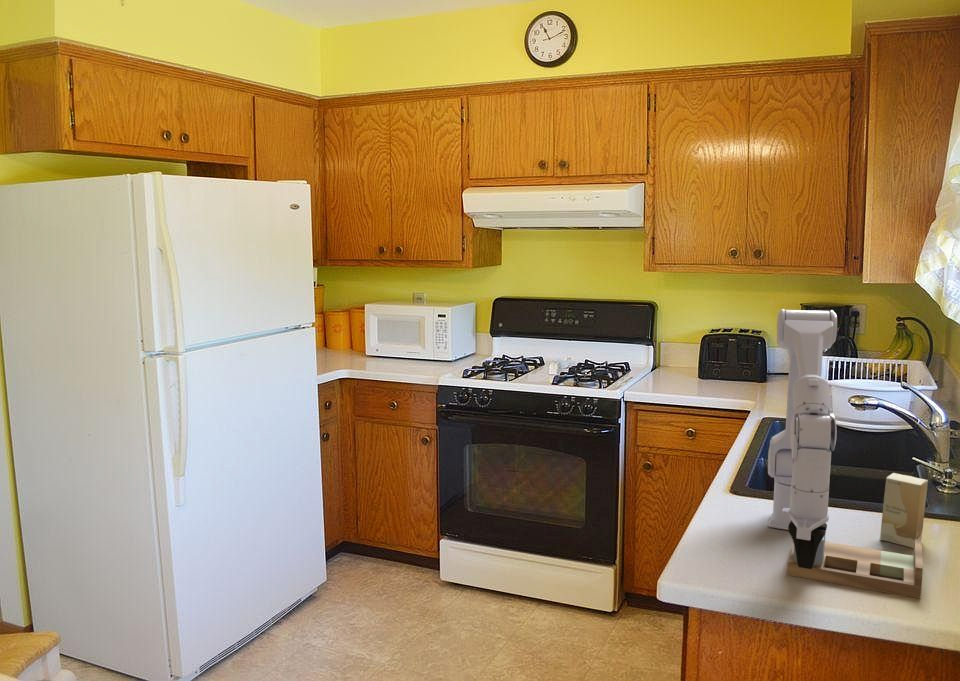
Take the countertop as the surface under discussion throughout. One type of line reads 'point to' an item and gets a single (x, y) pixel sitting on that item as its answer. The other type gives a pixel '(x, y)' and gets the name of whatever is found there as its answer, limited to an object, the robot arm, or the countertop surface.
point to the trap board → (866, 569)
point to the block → (819, 553)
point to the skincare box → (903, 509)
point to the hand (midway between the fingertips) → (805, 566)
